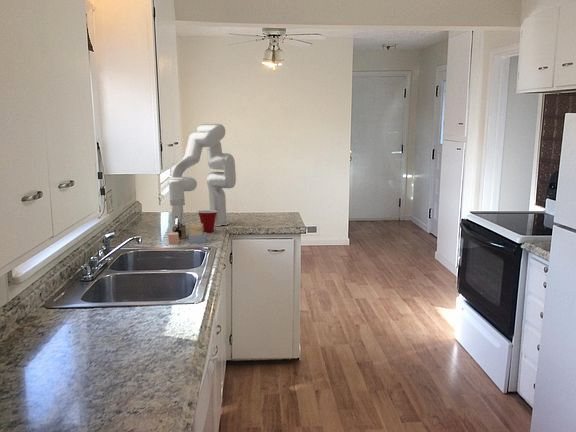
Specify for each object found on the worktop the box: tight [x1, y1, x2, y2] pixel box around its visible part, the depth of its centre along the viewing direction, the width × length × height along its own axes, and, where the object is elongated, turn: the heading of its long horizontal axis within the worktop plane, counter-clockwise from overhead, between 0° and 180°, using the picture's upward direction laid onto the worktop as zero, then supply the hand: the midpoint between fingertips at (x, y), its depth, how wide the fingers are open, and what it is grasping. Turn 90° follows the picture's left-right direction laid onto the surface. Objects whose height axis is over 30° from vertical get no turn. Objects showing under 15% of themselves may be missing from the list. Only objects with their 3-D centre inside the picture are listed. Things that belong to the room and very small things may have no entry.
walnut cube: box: [171, 224, 187, 240], centre depth 265 cm, size 6×6×6 cm
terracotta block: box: [167, 232, 180, 245], centre depth 253 cm, size 5×5×5 cm
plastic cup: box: [197, 209, 217, 234], centre depth 278 cm, size 11×11×12 cm
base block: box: [188, 232, 208, 244], centre depth 256 cm, size 8×8×4 cm
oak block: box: [189, 223, 204, 236], centre depth 255 cm, size 6×6×5 cm
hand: (179, 235), depth 265 cm, fingers closed on walnut cube, 6 cm apart
